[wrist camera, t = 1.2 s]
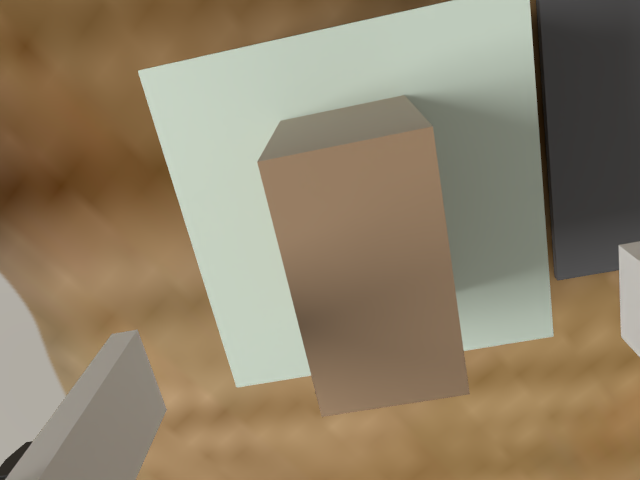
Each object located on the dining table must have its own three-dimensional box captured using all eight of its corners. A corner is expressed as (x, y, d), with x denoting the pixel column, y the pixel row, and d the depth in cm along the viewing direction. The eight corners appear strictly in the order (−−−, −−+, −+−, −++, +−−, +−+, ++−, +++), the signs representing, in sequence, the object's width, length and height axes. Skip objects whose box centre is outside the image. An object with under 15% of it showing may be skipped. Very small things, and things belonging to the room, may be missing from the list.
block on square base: (158, 65, 25) (54, 92, 16) (507, -13, 23) (618, -34, 14) (245, 356, 30) (205, 503, 21) (534, 308, 28) (627, 443, 19)
